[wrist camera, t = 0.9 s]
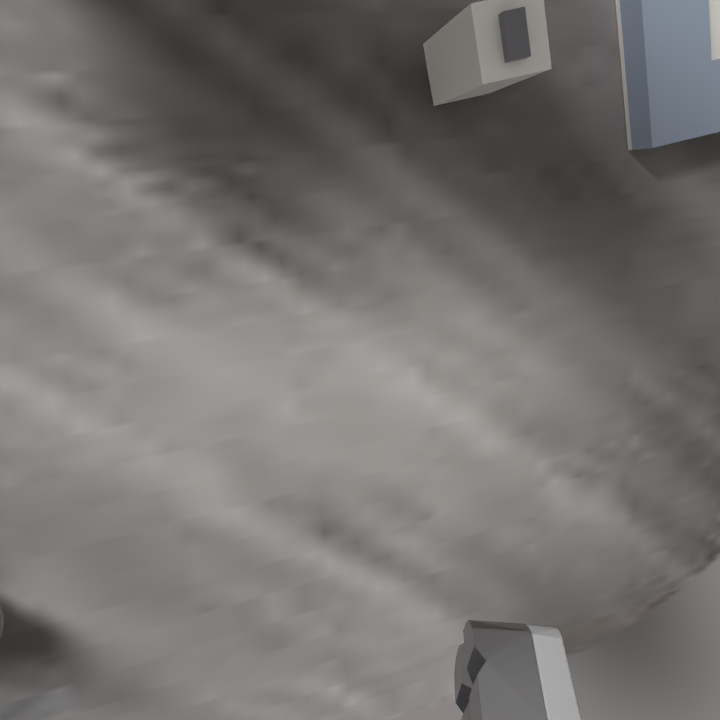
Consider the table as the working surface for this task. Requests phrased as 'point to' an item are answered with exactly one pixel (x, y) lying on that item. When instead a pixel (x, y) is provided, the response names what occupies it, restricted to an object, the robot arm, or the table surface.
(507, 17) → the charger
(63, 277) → the table surface
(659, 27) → the blue-gray square socket base
